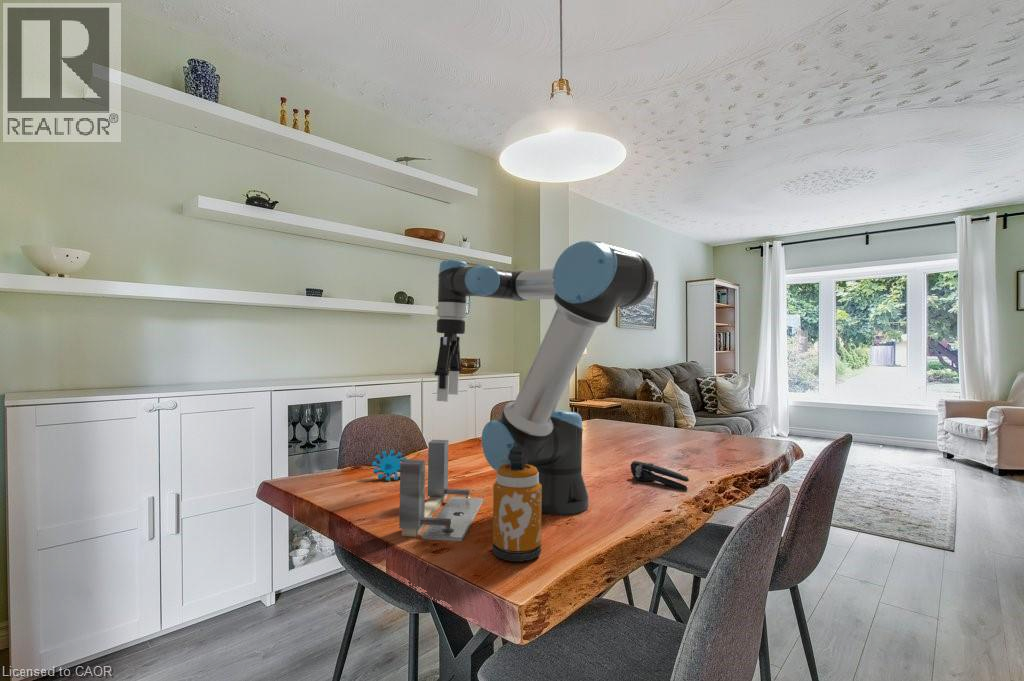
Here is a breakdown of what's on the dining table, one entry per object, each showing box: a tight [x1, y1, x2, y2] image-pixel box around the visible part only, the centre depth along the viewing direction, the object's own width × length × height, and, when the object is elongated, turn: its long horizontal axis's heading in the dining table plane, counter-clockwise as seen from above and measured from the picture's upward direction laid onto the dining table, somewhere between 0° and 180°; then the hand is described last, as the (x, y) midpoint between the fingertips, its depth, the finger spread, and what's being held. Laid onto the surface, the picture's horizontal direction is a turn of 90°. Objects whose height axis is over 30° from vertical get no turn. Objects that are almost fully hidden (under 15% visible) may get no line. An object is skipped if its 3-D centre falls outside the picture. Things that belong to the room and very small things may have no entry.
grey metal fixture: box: [398, 458, 451, 538], centre depth 110 cm, size 26×10×14 cm, turn 174°
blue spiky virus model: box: [371, 449, 407, 482], centre depth 141 cm, size 11×6×10 cm
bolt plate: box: [421, 495, 484, 542], centre depth 108 cm, size 25×8×1 cm, turn 174°
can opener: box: [630, 460, 690, 491], centre depth 138 cm, size 18×7×6 cm, turn 43°
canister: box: [492, 443, 542, 562], centre depth 91 cm, size 9×11×20 cm
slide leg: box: [427, 439, 471, 498], centre depth 119 cm, size 4×10×14 cm, turn 84°
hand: (448, 397), depth 130 cm, fingers open, 13 cm apart
